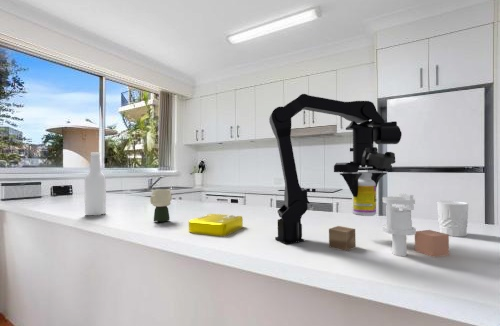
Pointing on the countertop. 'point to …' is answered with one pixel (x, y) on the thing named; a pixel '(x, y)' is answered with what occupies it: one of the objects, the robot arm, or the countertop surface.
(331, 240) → the walnut block
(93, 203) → the alcohol
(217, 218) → the element tile
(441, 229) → the white cup
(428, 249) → the terracotta block
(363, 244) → the countertop surface
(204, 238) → the countertop surface
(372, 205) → the supplement bottle
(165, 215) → the cream and green figurine
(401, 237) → the white stepped column
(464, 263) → the countertop surface
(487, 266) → the countertop surface
